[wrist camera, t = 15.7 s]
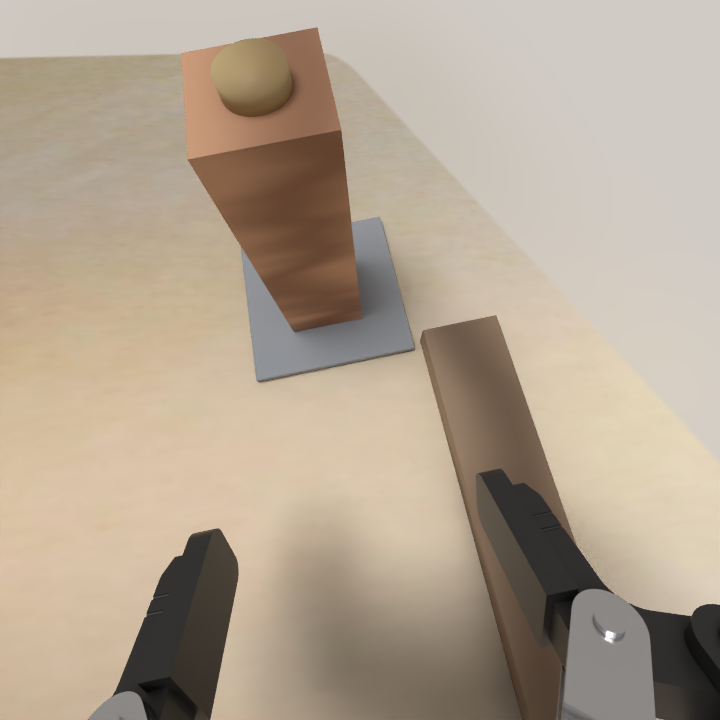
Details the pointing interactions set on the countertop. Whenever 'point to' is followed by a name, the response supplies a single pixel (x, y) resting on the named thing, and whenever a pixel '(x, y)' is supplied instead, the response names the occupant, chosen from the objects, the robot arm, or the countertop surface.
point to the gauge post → (277, 168)
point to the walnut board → (489, 452)
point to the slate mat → (338, 341)
